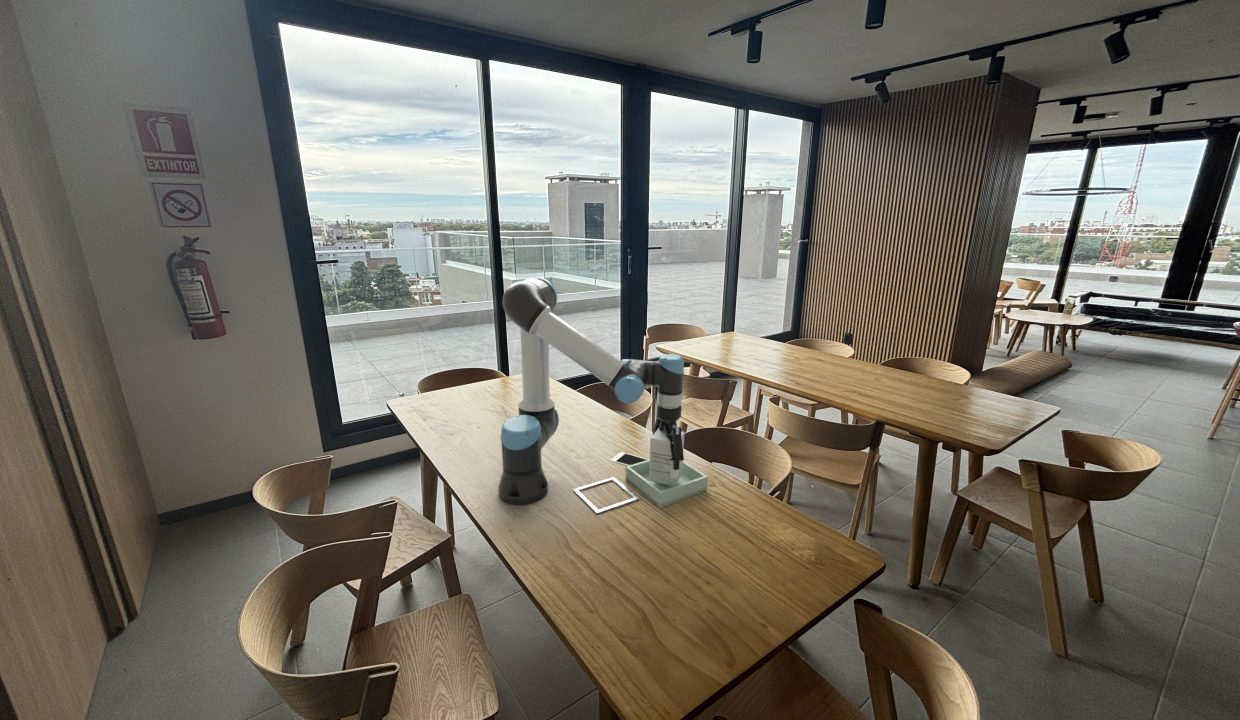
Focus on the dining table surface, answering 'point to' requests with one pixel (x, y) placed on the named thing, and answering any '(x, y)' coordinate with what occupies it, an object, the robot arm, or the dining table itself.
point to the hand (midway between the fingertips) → (666, 467)
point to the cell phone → (627, 459)
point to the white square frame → (633, 499)
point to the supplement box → (662, 459)
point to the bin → (664, 493)
